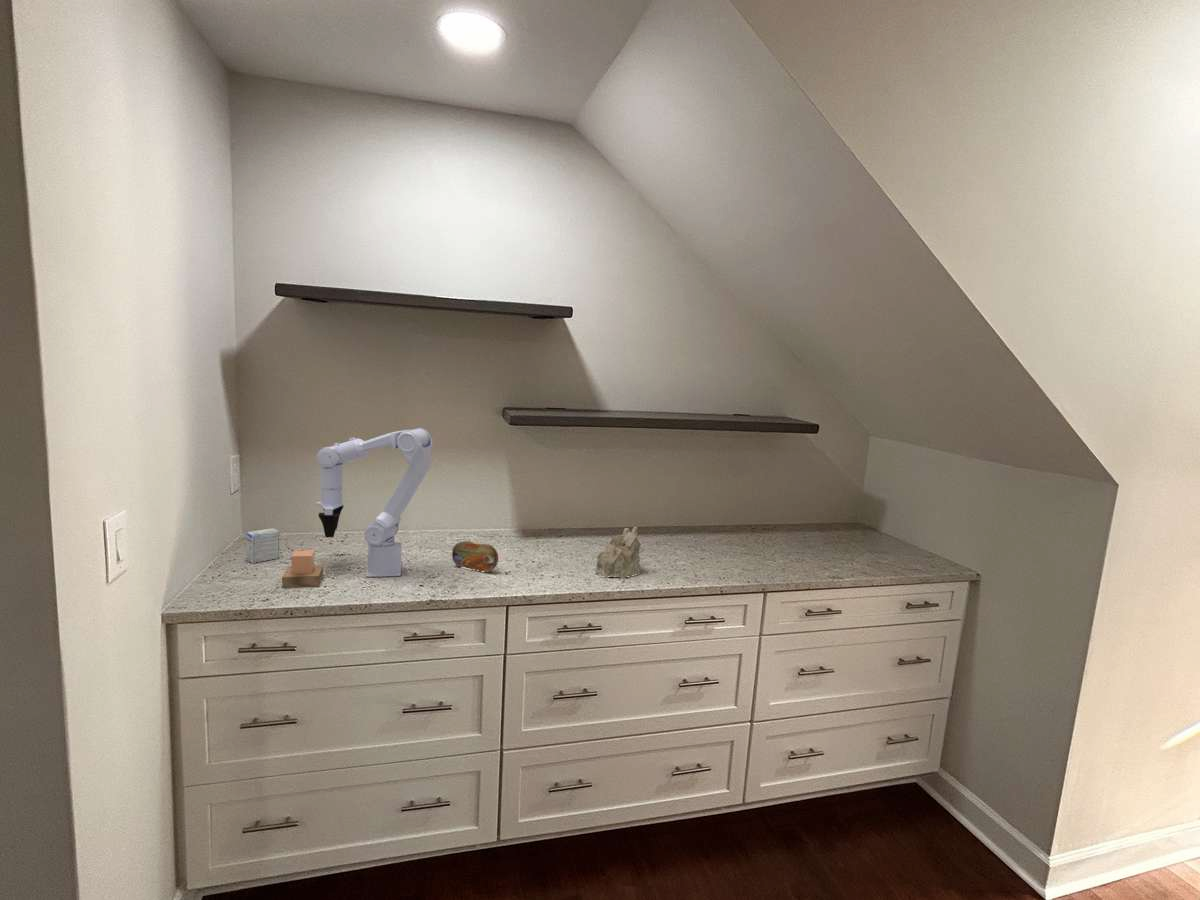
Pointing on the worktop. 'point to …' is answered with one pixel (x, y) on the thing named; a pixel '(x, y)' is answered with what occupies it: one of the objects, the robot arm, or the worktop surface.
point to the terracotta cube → (302, 562)
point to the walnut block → (302, 578)
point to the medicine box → (262, 545)
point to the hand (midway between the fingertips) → (331, 533)
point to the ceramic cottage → (620, 556)
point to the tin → (475, 556)
